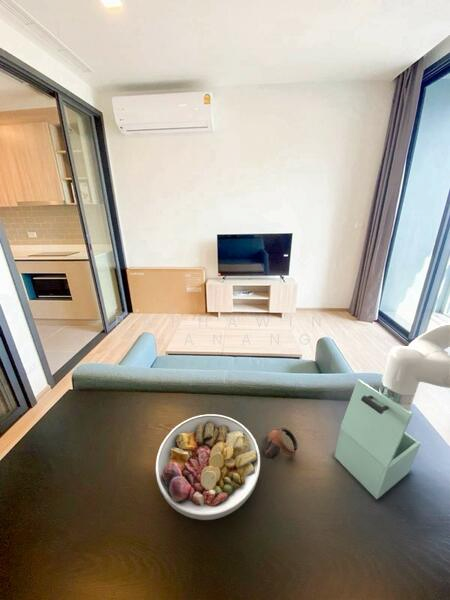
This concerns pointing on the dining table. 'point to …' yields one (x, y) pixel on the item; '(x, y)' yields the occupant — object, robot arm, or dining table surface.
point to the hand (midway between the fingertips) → (381, 439)
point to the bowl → (208, 466)
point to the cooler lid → (375, 422)
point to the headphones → (279, 444)
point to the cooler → (376, 463)
